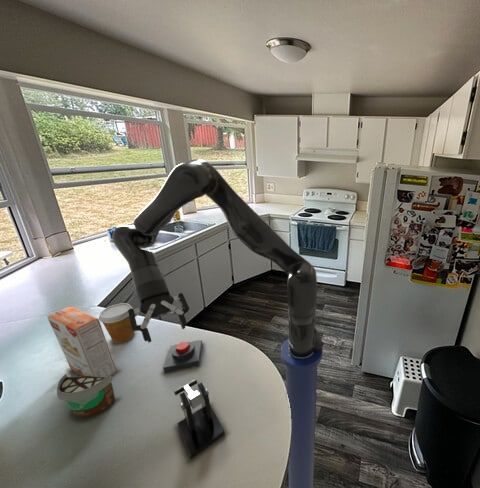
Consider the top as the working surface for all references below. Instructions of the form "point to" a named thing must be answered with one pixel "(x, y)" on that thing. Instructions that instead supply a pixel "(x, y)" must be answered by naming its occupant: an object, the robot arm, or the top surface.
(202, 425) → the bracket
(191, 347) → the button box
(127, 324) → the orange tub white lid
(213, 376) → the top surface
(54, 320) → the cracker box
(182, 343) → the button
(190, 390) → the lever
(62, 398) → the food container
